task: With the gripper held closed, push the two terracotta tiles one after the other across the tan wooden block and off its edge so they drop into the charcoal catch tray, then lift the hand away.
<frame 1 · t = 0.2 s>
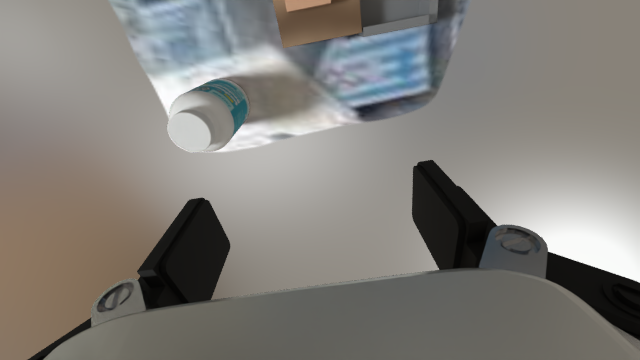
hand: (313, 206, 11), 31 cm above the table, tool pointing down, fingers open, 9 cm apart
pill bottle: (226, 102, 39), on the table
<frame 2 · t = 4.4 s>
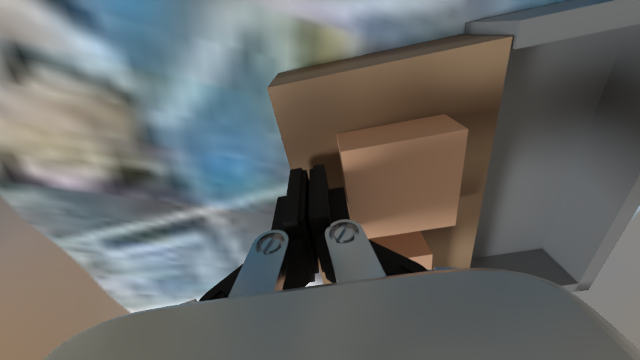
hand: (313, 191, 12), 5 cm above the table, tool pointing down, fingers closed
tile 2: (391, 170, 13), point 4 cm above the table, touching gripper
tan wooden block: (378, 189, 18), on the table
tile 1: (379, 262, 16), point 4 cm above the table, touching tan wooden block
tray: (450, 176, 18), on the table
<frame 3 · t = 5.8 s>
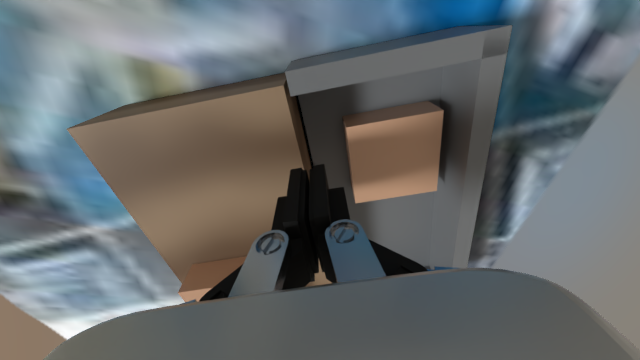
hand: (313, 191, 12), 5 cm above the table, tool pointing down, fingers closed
tile 2: (395, 161, 14), point 3 cm above the table, tilted 180°, touching tray
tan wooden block: (254, 210, 19), on the table
tile 1: (243, 283, 17), point 4 cm above the table, touching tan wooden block
tray: (322, 199, 18), on the table
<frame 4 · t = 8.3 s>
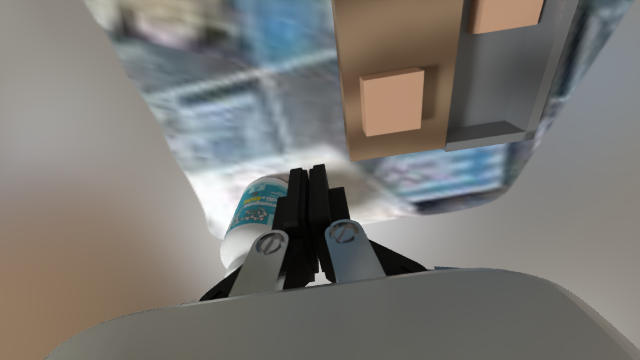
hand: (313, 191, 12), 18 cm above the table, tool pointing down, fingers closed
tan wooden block: (387, 58, 25), on the table
tile 1: (387, 100, 24), point 4 cm above the table, touching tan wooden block
pill bottle: (271, 196, 34), on the table
tray: (439, 49, 25), on the table
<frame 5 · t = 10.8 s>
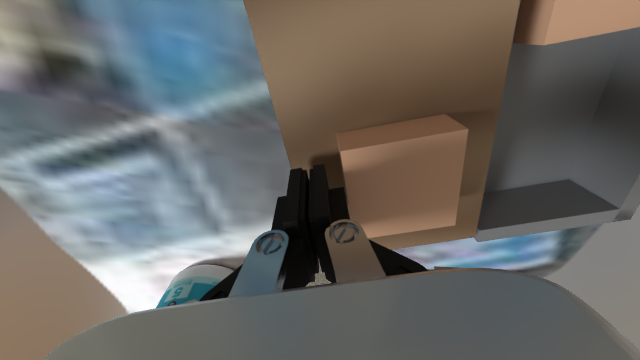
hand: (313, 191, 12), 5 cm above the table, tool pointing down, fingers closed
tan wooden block: (370, 91, 15), on the table
tile 1: (391, 170, 13), point 4 cm above the table, touching gripper
pill bottle: (215, 284, 24), on the table
tray: (461, 73, 14), on the table
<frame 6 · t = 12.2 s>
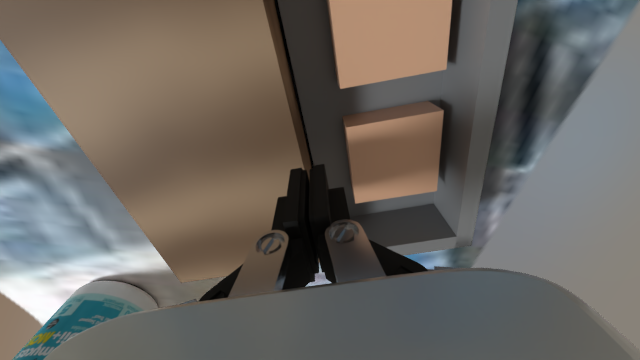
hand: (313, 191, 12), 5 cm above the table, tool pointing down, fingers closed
tile 2: (391, 17, 10), point 3 cm above the table, tilted 180°, touching tray
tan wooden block: (219, 122, 15), on the table
tile 1: (395, 161, 14), point 3 cm above the table, tilted 180°, touching tray
pill bottle: (122, 299, 24), on the table
tray: (301, 106, 15), on the table
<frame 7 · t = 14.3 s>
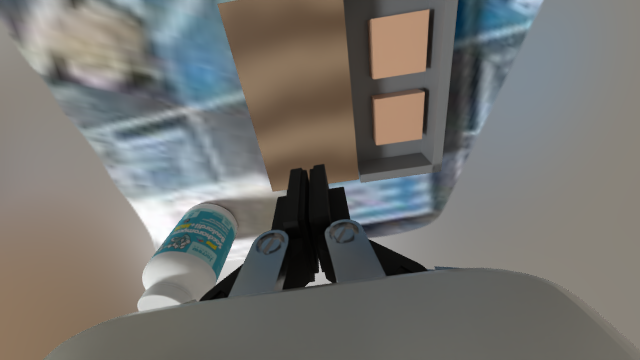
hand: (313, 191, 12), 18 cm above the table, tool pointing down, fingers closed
tile 2: (399, 46, 23), point 3 cm above the table, tilted 180°, touching tray
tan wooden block: (302, 98, 28), on the table
tile 1: (399, 120, 26), point 3 cm above the table, tilted 180°, touching tray
pill bottle: (213, 221, 36), on the table
tray: (348, 90, 27), on the table
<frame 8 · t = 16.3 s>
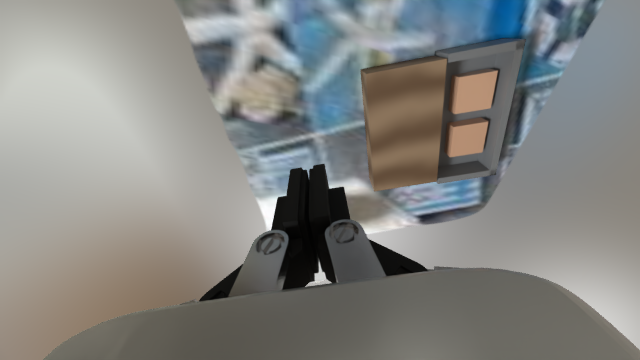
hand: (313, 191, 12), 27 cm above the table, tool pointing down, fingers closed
tile 2: (475, 93, 34), point 3 cm above the table, tilted 180°, touching tray
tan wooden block: (397, 125, 39), on the table
tile 1: (468, 140, 38), point 3 cm above the table, tilted 180°, touching tray
tray: (431, 119, 39), on the table
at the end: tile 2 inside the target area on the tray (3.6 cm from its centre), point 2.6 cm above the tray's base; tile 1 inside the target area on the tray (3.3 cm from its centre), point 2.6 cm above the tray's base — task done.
